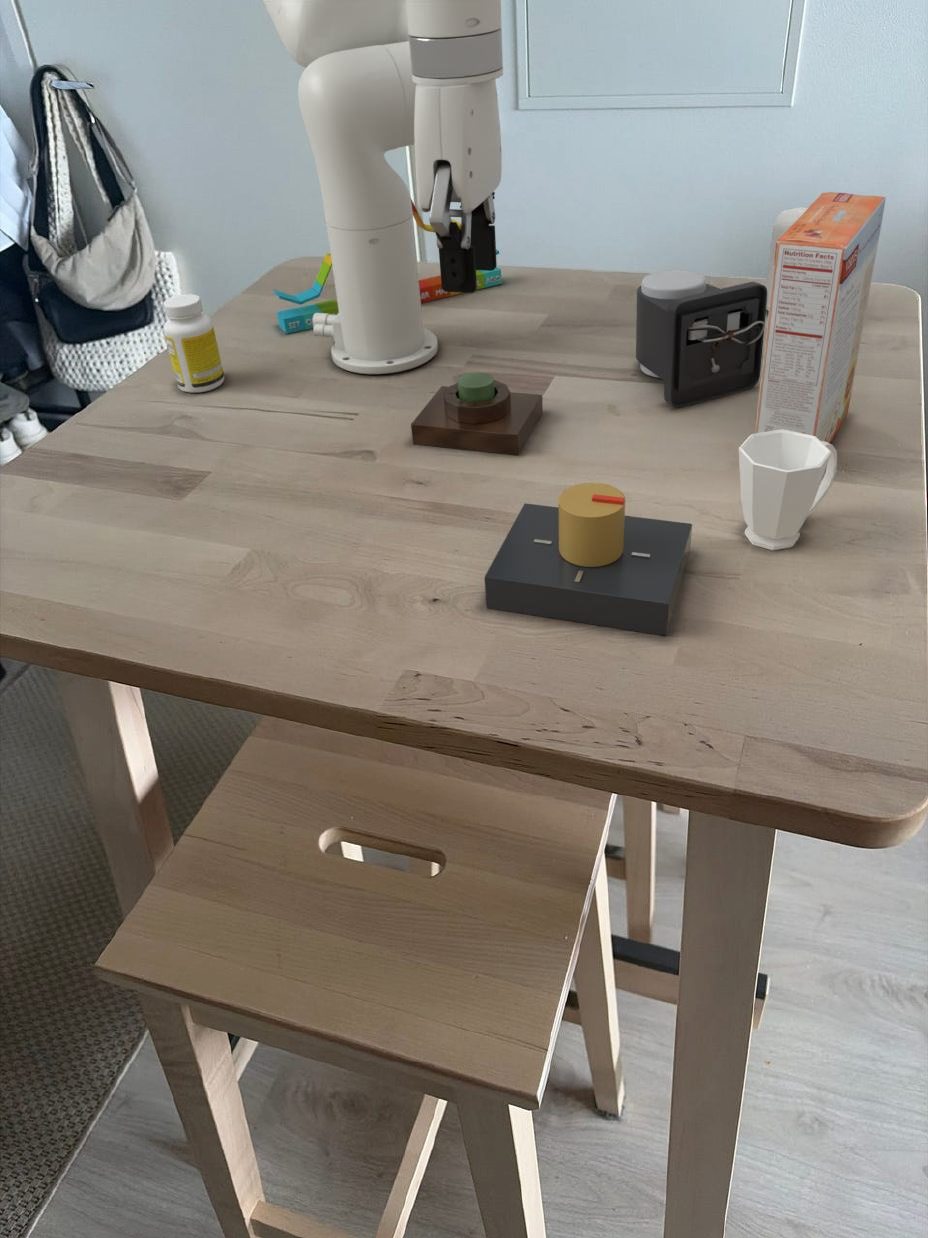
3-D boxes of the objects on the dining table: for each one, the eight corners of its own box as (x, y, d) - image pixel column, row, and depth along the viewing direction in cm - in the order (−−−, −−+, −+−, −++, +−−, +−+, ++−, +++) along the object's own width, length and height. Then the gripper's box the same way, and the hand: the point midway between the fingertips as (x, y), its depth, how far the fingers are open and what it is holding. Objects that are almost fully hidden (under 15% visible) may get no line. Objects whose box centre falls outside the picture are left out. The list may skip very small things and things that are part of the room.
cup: (710, 532, 84) (719, 446, 79) (793, 493, 88) (806, 409, 83) (774, 569, 79) (788, 481, 74) (858, 526, 83) (877, 439, 78)
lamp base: (412, 444, 100) (408, 407, 97) (443, 404, 106) (440, 369, 104) (518, 455, 96) (516, 417, 94) (542, 414, 103) (542, 377, 101)
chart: (286, 334, 125) (264, 210, 116) (279, 326, 127) (257, 203, 118) (502, 284, 134) (497, 165, 125) (491, 277, 136) (486, 160, 127)
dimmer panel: (486, 608, 77) (483, 575, 76) (525, 532, 86) (524, 501, 84) (666, 636, 73) (668, 602, 71) (689, 554, 81) (692, 521, 80)
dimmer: (551, 562, 76) (551, 508, 74) (567, 527, 80) (567, 475, 77) (615, 571, 75) (617, 517, 72) (629, 535, 79) (631, 482, 76)
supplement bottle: (233, 376, 116) (215, 292, 110) (210, 396, 112) (190, 310, 106) (193, 372, 117) (173, 289, 111) (168, 391, 113) (146, 307, 107)
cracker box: (788, 405, 101) (820, 188, 88) (849, 415, 99) (892, 194, 86) (744, 467, 92) (773, 235, 79) (810, 481, 89) (852, 243, 76)
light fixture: (693, 352, 114) (698, 255, 108) (764, 389, 104) (773, 284, 98) (609, 372, 111) (609, 274, 105) (674, 412, 101) (678, 306, 95)
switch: (453, 402, 98) (452, 385, 97) (465, 386, 101) (464, 370, 100) (488, 405, 97) (487, 388, 96) (499, 389, 100) (498, 373, 99)
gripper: (448, 40, 88) (461, 248, 99) (373, 78, 76) (398, 311, 87) (529, 38, 86) (534, 251, 97) (466, 77, 74) (479, 316, 85)
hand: (469, 277), depth 92 cm, fingers open, 5 cm apart
